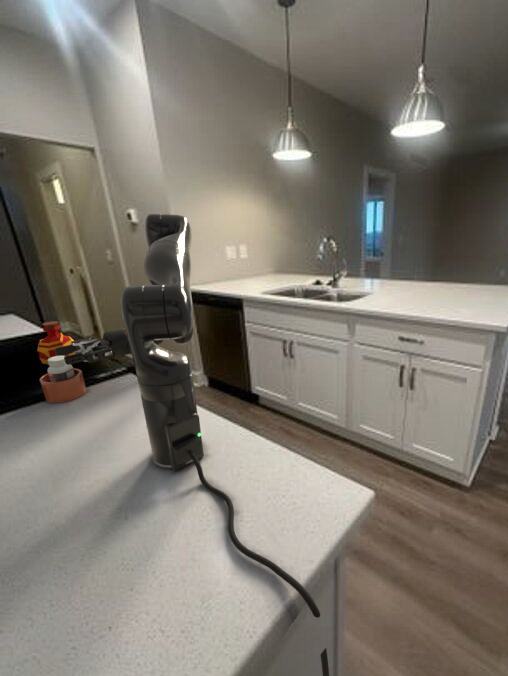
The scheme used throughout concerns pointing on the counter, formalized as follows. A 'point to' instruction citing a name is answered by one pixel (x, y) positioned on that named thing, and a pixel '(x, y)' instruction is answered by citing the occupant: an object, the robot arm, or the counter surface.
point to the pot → (63, 387)
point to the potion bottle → (52, 342)
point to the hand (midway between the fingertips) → (60, 356)
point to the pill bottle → (59, 369)
